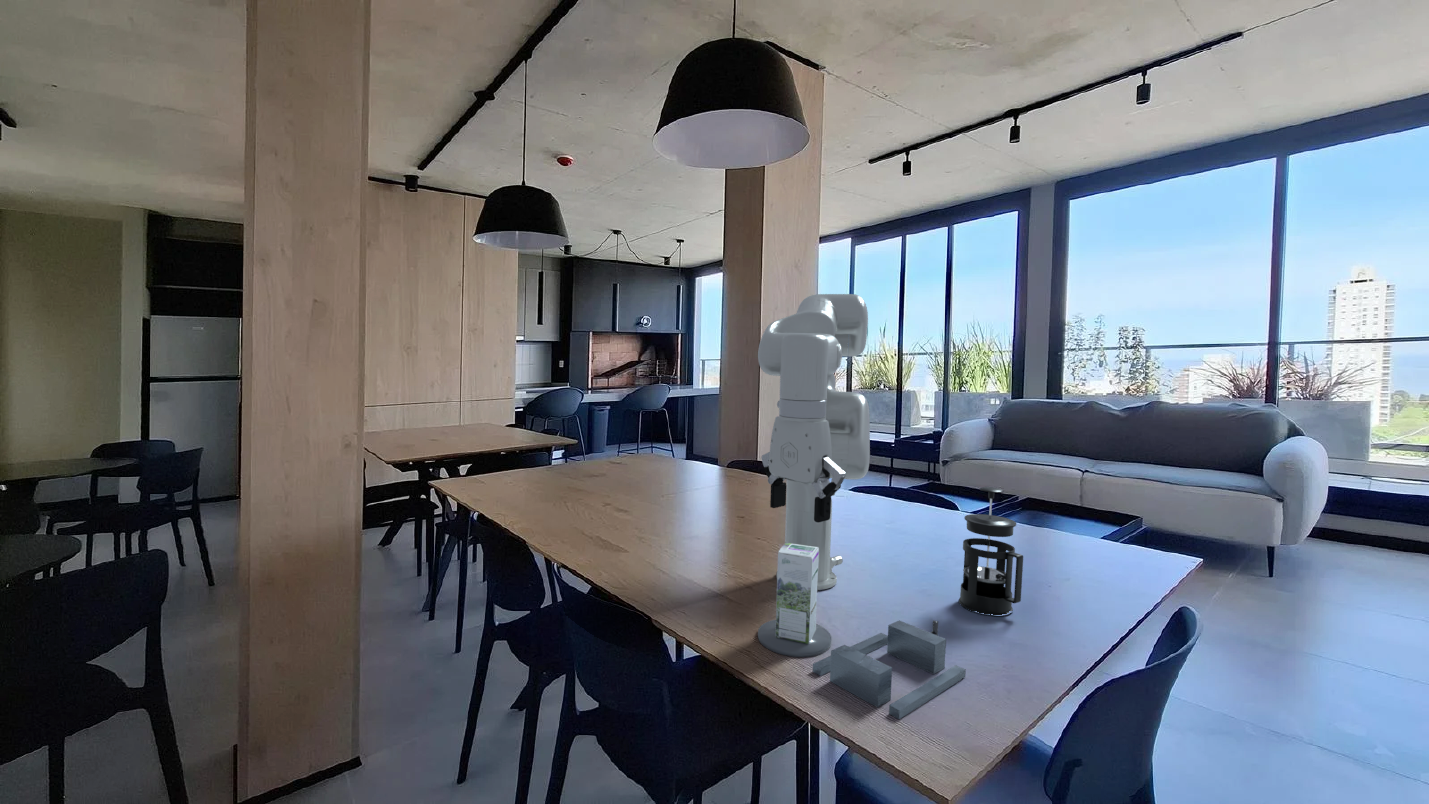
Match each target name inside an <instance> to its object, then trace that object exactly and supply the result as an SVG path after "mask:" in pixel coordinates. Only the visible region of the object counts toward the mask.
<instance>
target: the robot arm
mask: <svg viewBox="0 0 1429 804" xmlns="http://www.w3.org/2000/svg"><path fill="white" fill-rule="evenodd" d="M868 324H869V311H868V307H867V304H866V302H865V300H864V299H863V297H861V296H859V295H858V294H854V293H853V294H852V293H822V294H821V293H820V294H819V293H817V294H811V295H809V296H807V297H805V298H804V299H803V300H802V301H801V302H800V304H799V305H798V308H797V310H796V313H794V314H791V315H788V316H786V317H783V318H780V319H777V320H774V321H772V322H771V323H769V324H768V326H766V328H765V329H764V331H763V334H762V337H761V339H760V341H759V346H758V349H757V350H758V352H757V361H758V365H759V367H760V369H761V370H762V372H763V373H764V374H766V375H768V376H775V377H777V376H778V377H779V376H780V378H779V400H778V401H777V403H776V406H777V407H776V408H778V409H779V410H778V412H779V413H778V415H777V416H776V417H775V419H774V422H773V426H772V431H771V437H770V445H769V451H768V452H766V453H764V454H762V455H761V462H762V465H763V467H764V468H763V469H764V473H765V474H766V477H767V483H768V484H769V485H770V498H769V500H770V501H769V502H770V503H769V505H770V506H769V507H770V508H772V509H777V508H781V507H784V506H786V507H785V532H784V533H785V535H784V544H786V543H791V544H798V545H806V546H813V547H818V548H819V562H818V581H817V591H821V590H822V591H823V590H827V589H830V588H833V587H835V585H836V584H837V580H838V577H837V575H836V573H834V572H833V568H834V567H835V566H839V565H842V564H843V561H844V560H843V558H842V556H841V555H835V556H831V541H832V539H831V538H832V519H833V518H832V516H833V513H832V512H833V499H832V497H833V496H835V494H836V493H837V492H838V491H839V490H840V489H841V488H842V485H841V484H843V482H844V481H845V480H850V481H851V480H860V479H863V478H864V477H865V476H866V475H867V474H868V471H869V469H870V468H869V467H870V457H871V451H870V450H871V448H870V447H871V445H870V444H871V442H870V439H871V438H870V436H871V435H870V434H871V433H870V432H871V431H870V430H871V429H870V428H871V426H870V424H871V423H870V419H871V417H870V407H869V403H868V400H867V397H865V396H864V395H863V394H861V393H859V392H854V391H837V390H836V383H837V378H836V376H835V373H836V372H837V371H838V369H839V368H840V367H841V365H842V360H843V357H857V356H859V355H861V354H863V352H864V350H865V349H866V345H867V339H868V338H867V337H868ZM830 479H831V481H830ZM785 480H786V482H785ZM777 572H778V570H777V571H776V573H777Z"/></svg>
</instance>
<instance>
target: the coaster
mask: <svg viewBox="0 0 1429 804" xmlns="http://www.w3.org/2000/svg"><path fill="white" fill-rule="evenodd" d="M757 631H758V632H757V640H758V642H759V643H760V645H762V646H763V647H764V648H765V649H767V650H769V651H771V652H774V653H776V654H779V655H782V656H788V657H794V658H807V657H816V656H819V655H822V654H824V653H826V652H827V651H828V650H830V649H831V646H832V635H831V633H830V632H829V630H827V629H826V628H825V627H823V626H822V625H820V624H817V623H816V630H815V633H814V635H813V637H812V639H811V641H810V643H809V644H806V643H801V642H796V641H791V640H786V639H781V638H776V637H775V633H776V619H772V620H768V621H766V622H764V623H762V624H761V625H760V627H758V630H757Z"/></svg>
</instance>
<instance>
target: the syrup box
mask: <svg viewBox="0 0 1429 804" xmlns="http://www.w3.org/2000/svg"><path fill="white" fill-rule="evenodd" d="M818 562H819V548H818V547H813V546H806V545H798V544H791V543H786V544H785V543H784V544H783V545H782V546H781V547H780V549H778V553H777V571H778V572H777V571H776V605H775V606H776V608H775V611H776V612H775V620H776V633H775V637H776V638H781V639H786V640H791V641H796V642H801V643H806V644H809V643H810V641H811V639H812V637H813V635H814V633H815V630H816V624H817V599H818V590H817V581H818Z"/></svg>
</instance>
